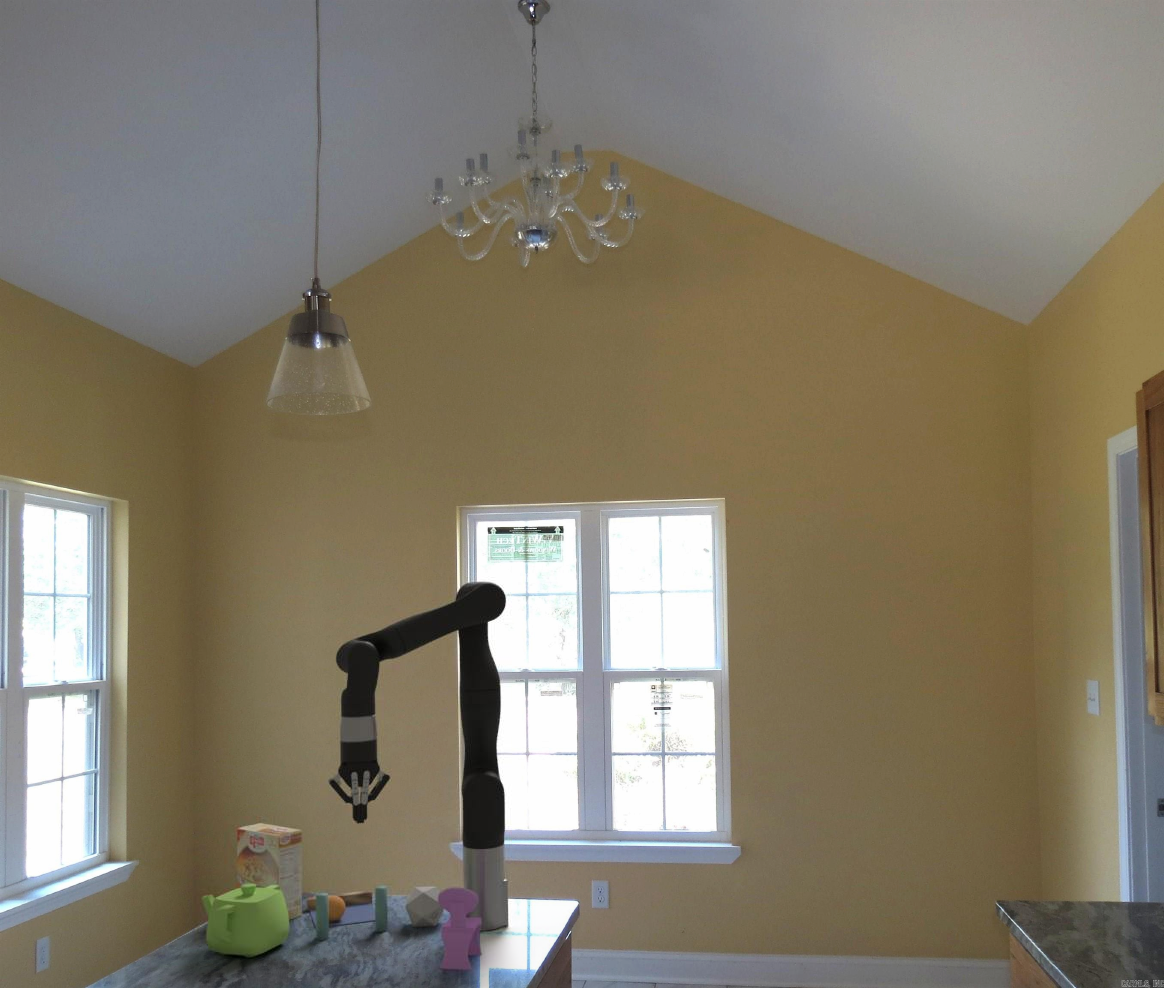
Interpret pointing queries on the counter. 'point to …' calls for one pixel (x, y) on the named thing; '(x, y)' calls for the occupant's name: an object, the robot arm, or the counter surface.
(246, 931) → the teapot
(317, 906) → the post
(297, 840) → the coffeecake box
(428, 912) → the die
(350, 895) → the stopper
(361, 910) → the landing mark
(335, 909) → the ball
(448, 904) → the toy chair
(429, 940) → the counter surface
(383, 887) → the post
